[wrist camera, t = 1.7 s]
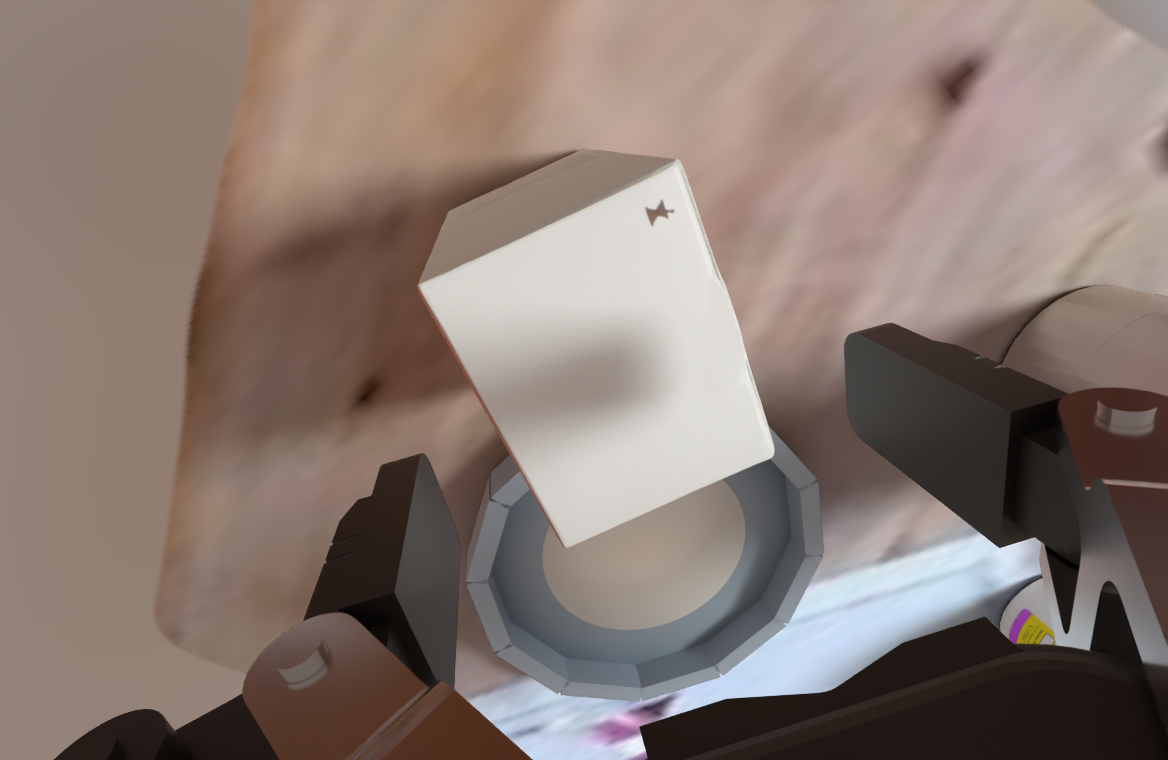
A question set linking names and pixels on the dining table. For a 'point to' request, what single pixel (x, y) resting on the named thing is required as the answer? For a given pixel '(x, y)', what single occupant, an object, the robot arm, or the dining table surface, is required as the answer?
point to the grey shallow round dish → (646, 581)
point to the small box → (598, 337)
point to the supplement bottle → (1028, 617)
